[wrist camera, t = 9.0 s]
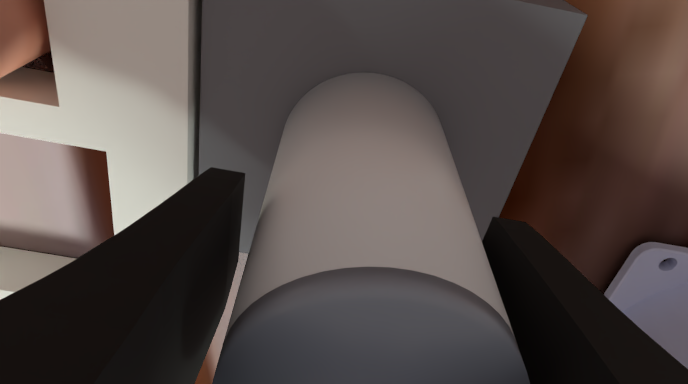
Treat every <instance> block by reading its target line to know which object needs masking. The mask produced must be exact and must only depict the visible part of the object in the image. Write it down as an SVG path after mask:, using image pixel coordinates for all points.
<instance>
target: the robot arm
mask: <svg viewBox="0 0 688 384" xmlns="http://www.w3.org/2000/svg"><path fill="white" fill-rule="evenodd" d="M244 184H245V173H242V172H236V171H231V170H225V169H219V168H213V167H210V168H209V169H207V170H206V171H204V172H203V173H202V174H200V175H199V176H197V177H196V178H195V179H193V180H192V181H191V182H189V183H188V184H187V185H185V186H184V187H183V188H181V189H180V190H179V191H177V192H176V193H175V194H173V195H172V196H170V197H169V198H168V199H166V200H165V201H164V202H162V203H161V204H160V205H158V206H157V207H155V208H154V209H152V210H151V211H150V212H148V213H147V214H145V215H144V216H142V217H141V218H139V219H138V220H137V221H135V222H134V223H132V224H131V225H129V226H128V227H126V228H125V229H123V230H122V231H120V232H119V233H117V234H116V235H114V236H113V237H111V238H109V239H108V240H106V241H105V242H103V243H101V244H100V245H98V246H97V247H95V248H93V249H92V250H90V251H88V252H87V253H85V254H84V255H82V256H80V257H79V258H77V259H76V260H74V261H72V262H71V263H69V264H67V265H65V266H64V267H62V268H60V269H58V270H56V271H54V272H53V273H51V274H49V275H47V276H45V277H44V278H42V279H40V280H38V281H36V282H34V283H32V284H30V285H28V286H26V287H24V288H22V289H20V290H18V291H16V292H14V293H12V294H10V295H9V296H7V297H5V298H3V299H1V300H0V384H194V383H195V381H196V378H197V376H198V373H199V371H200V368H201V366H202V364H203V361H204V359H205V356H206V354H207V351H208V349H209V347H210V344H211V342H212V339H213V337H214V334H215V332H216V329H217V327H218V324H219V322H220V319H221V317H222V314H223V312H224V309H225V306H226V303H227V299H228V296H229V292H230V289H231V285H232V281H233V278H234V274H235V270H236V267H237V263H238V256H239V244H240V232H241V220H242V208H243V196H244ZM482 244H483V247H484V250H485V253H486V255H487V258H488V261H489V264H490V267H491V270H492V273H493V276H494V279H495V281H496V284H497V287H498V290H499V293H500V296H501V299H502V302H503V305H504V307H505V310H506V313H507V316H508V319H509V322H510V325H511V328H512V330H513V333H514V336H515V339H516V342H517V345H518V348H519V351H520V354H521V356H522V359H523V362H524V365H525V368H526V371H527V374H528V378H529V381H530V384H688V248H686V247H681V246H675V245H669V244H664V243H658V242H647V243H643V244H641V245H639V246H637V247H636V248H635V249H634V250H633V251H632V252H631V254H630V255H629V257H628V258H627V260H626V261H625V263H624V264H623V266H622V267H621V269H620V270H619V272H618V273H617V275H616V276H615V278H614V279H613V281H612V282H611V284H610V285H609V287H608V289H607V290H606V292H605V293H604V295H603V294H602V293H601V292H600V291H599V290H598V289H597V288H596V287H595V286H594V285H593V284H592V283H591V282H590V281H589V280H588V279H586V278H585V277H584V276H583V275H582V274H581V273H580V272H579V271H578V270H577V269H576V268H575V267H574V266H573V265H572V264H571V263H570V262H569V261H568V260H567V259H566V258H565V257H564V256H563V255H561V254H560V253H559V252H558V251H557V250H556V249H555V248H554V247H553V246H552V245H551V244H550V243H549V242H548V241H547V240H546V239H544V238H543V237H542V236H541V235H540V234H539V233H538V232H537V231H535V230H534V229H533V228H532V227H531V226H529V225H528V224H527V223H526V222H521V221H516V220H510V219H504V218H499V217H492V220H491V222H490V224H489V227H488V229H487V231H486V233H485V236H484V238H483V240H482ZM667 258H668V259H667ZM664 259H667V260H666V261H664V262H661V261H663V260H664Z"/></svg>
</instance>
